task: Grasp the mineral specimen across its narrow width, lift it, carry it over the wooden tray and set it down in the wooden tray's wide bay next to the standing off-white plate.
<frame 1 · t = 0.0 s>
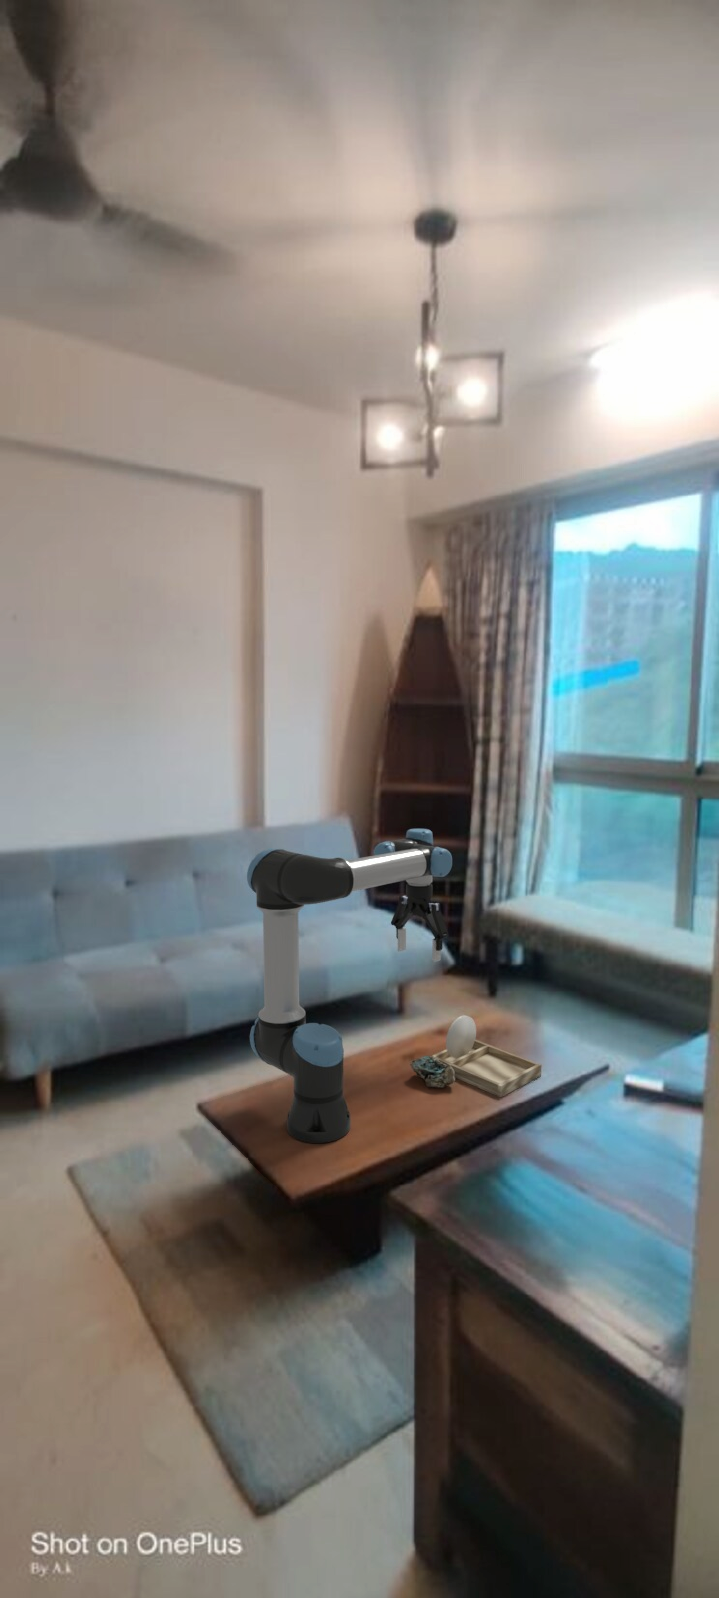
hand: (418, 955, 228), 28 cm above the table, fingers open, 13 cm apart
mineral specimen: (434, 1083, 210), on the table
wooden tray: (485, 1070, 216), on the table
standing plate: (461, 1060, 223), resting on wooden tray
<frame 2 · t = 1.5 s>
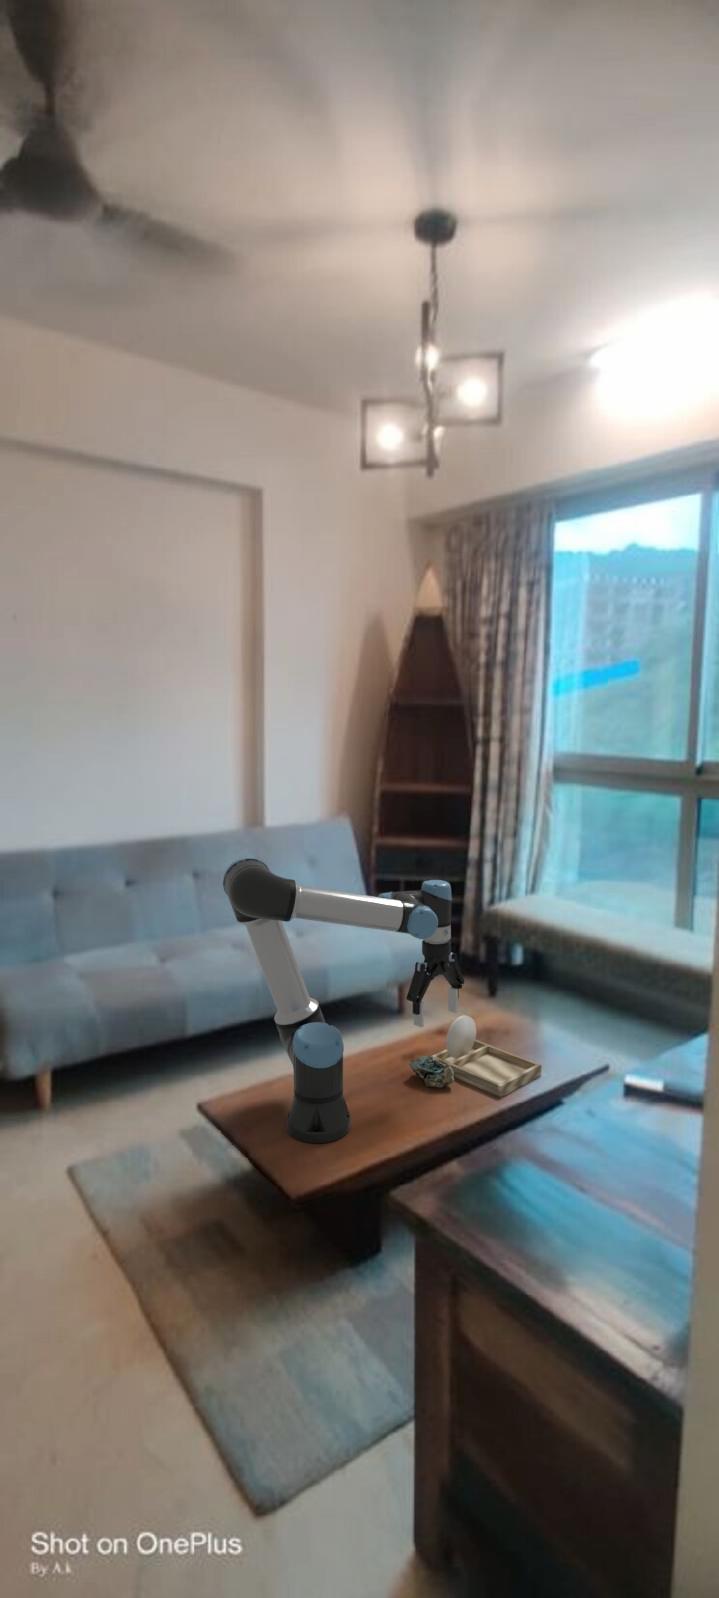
hand: (436, 1018, 208), 18 cm above the table, fingers open, 13 cm apart
nothing on the table moved.
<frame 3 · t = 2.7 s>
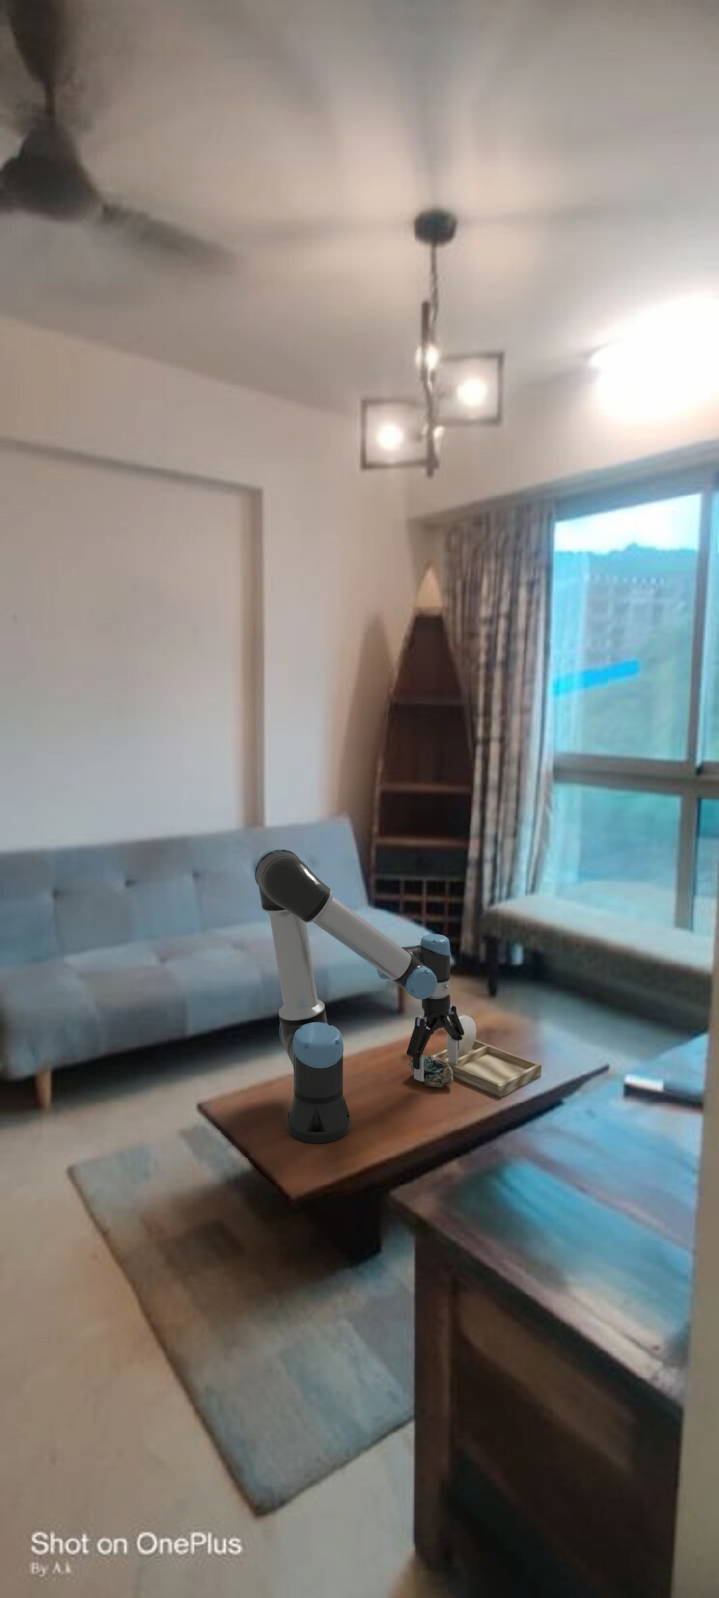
hand: (436, 1071, 210), 3 cm above the table, fingers open, 13 cm apart
nothing on the table moved.
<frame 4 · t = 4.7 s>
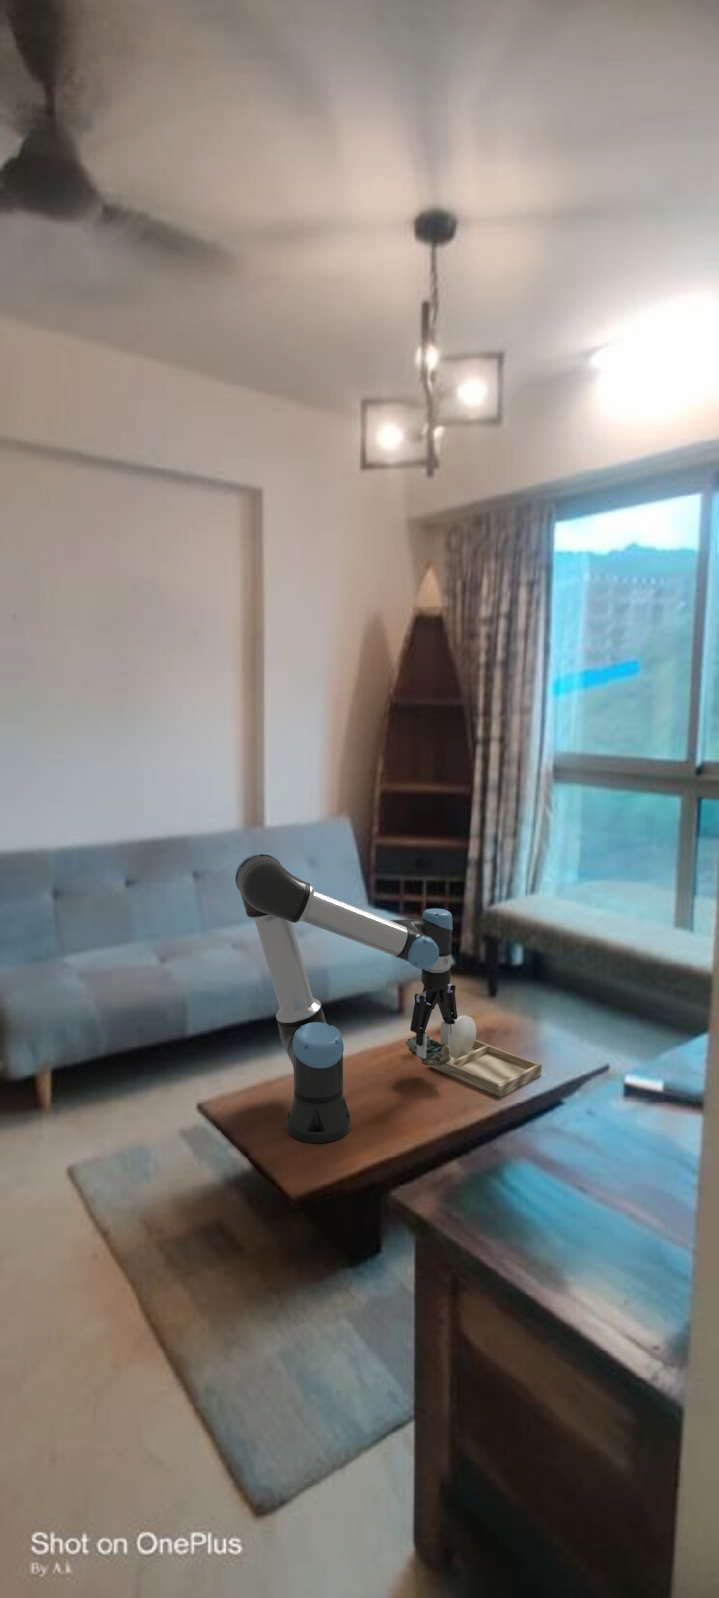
hand: (433, 1051, 209), 9 cm above the table, fingers closed on mineral specimen, 9 cm apart
mineral specimen: (429, 1062, 210), point 5 cm above the table, touching gripper
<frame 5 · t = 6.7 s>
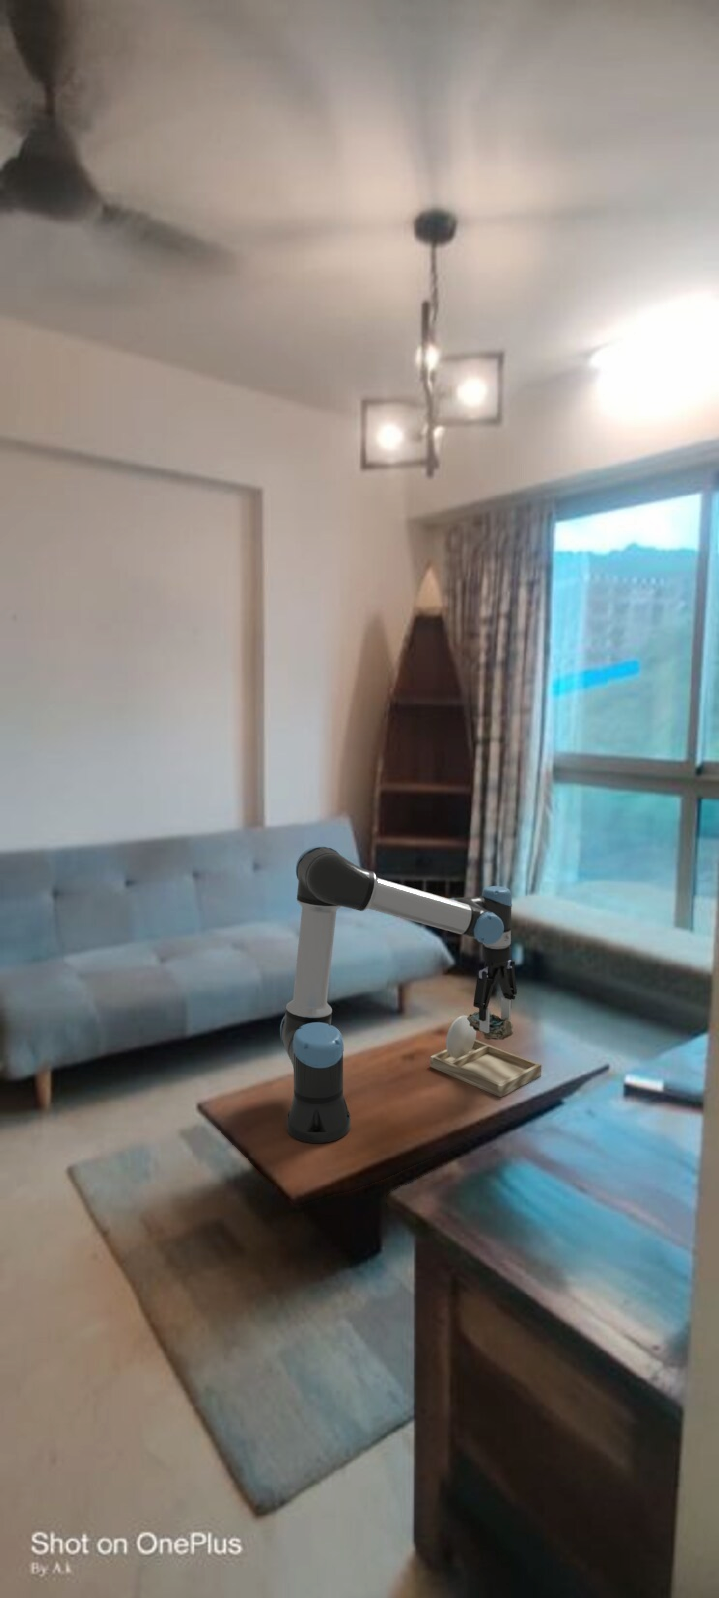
hand: (495, 1026, 213), 14 cm above the table, fingers closed on mineral specimen, 9 cm apart
mineral specimen: (491, 1036, 214), point 10 cm above the table, touching gripper
when the fingers open (4 cm above the table, at t = 8.6 s): mineral specimen stays where it is, resting on wooden tray.
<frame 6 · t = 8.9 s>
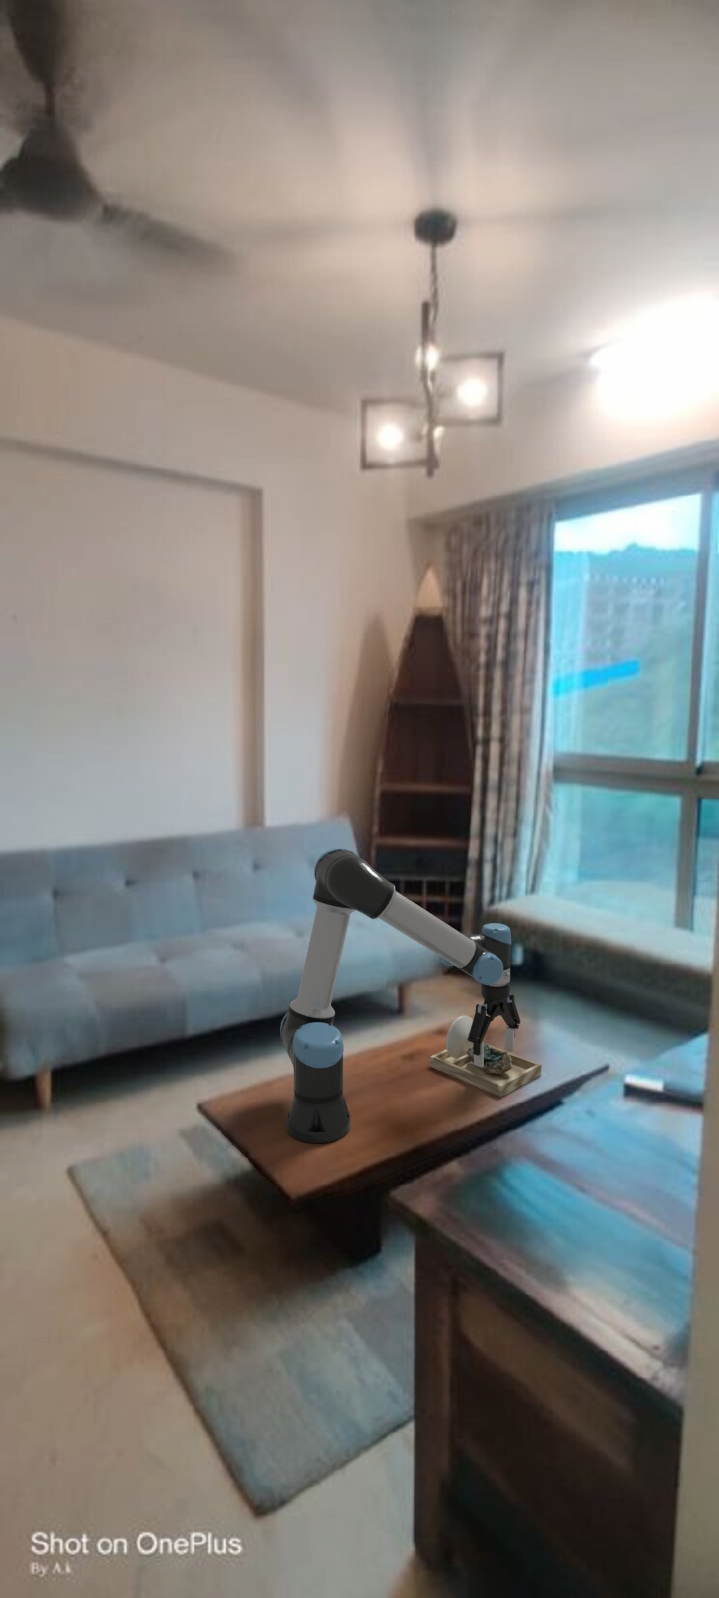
hand: (494, 1058, 214), 5 cm above the table, fingers open, 13 cm apart
mineral specimen: (491, 1070, 215), point 1 cm above the table, touching wooden tray
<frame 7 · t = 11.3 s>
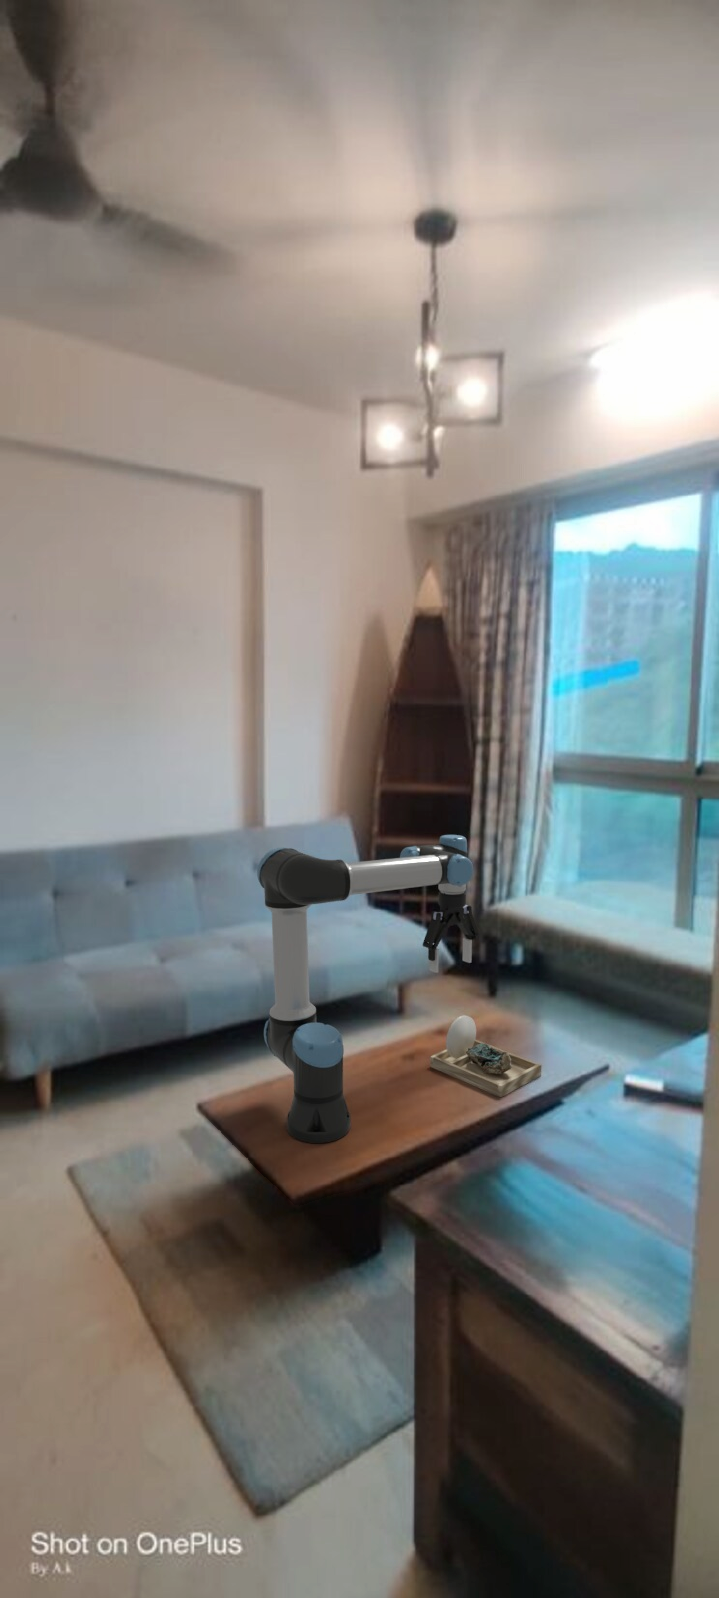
hand: (450, 966, 219), 27 cm above the table, fingers open, 13 cm apart
nothing on the table moved.
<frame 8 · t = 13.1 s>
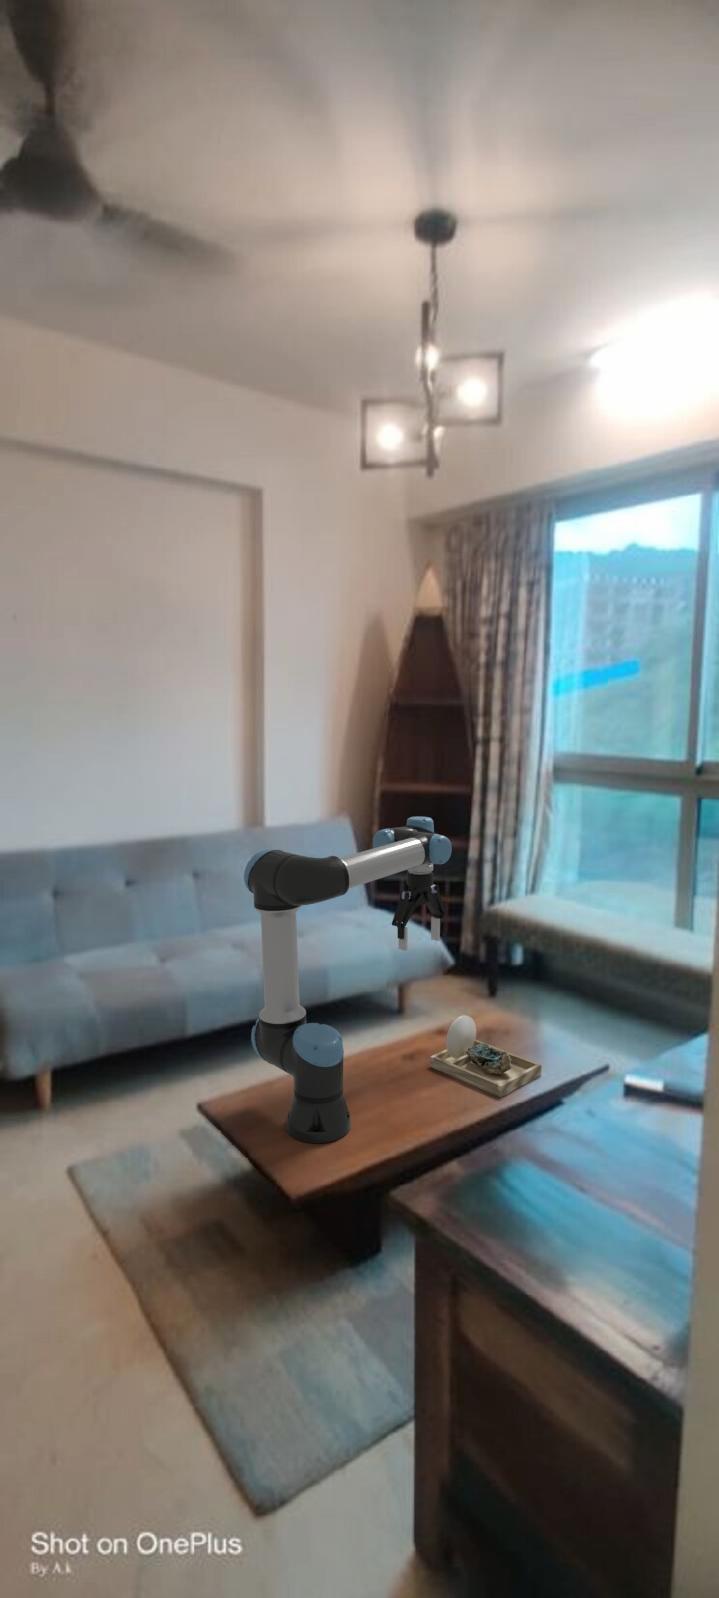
hand: (419, 944, 225), 32 cm above the table, fingers open, 13 cm apart
nothing on the table moved.
at the end: mineral specimen inside the target area on the wooden tray (1.2 cm from its centre), point 0.8 cm above the wooden tray's base; mineral specimen touching wooden tray; the gripper is holding nothing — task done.
